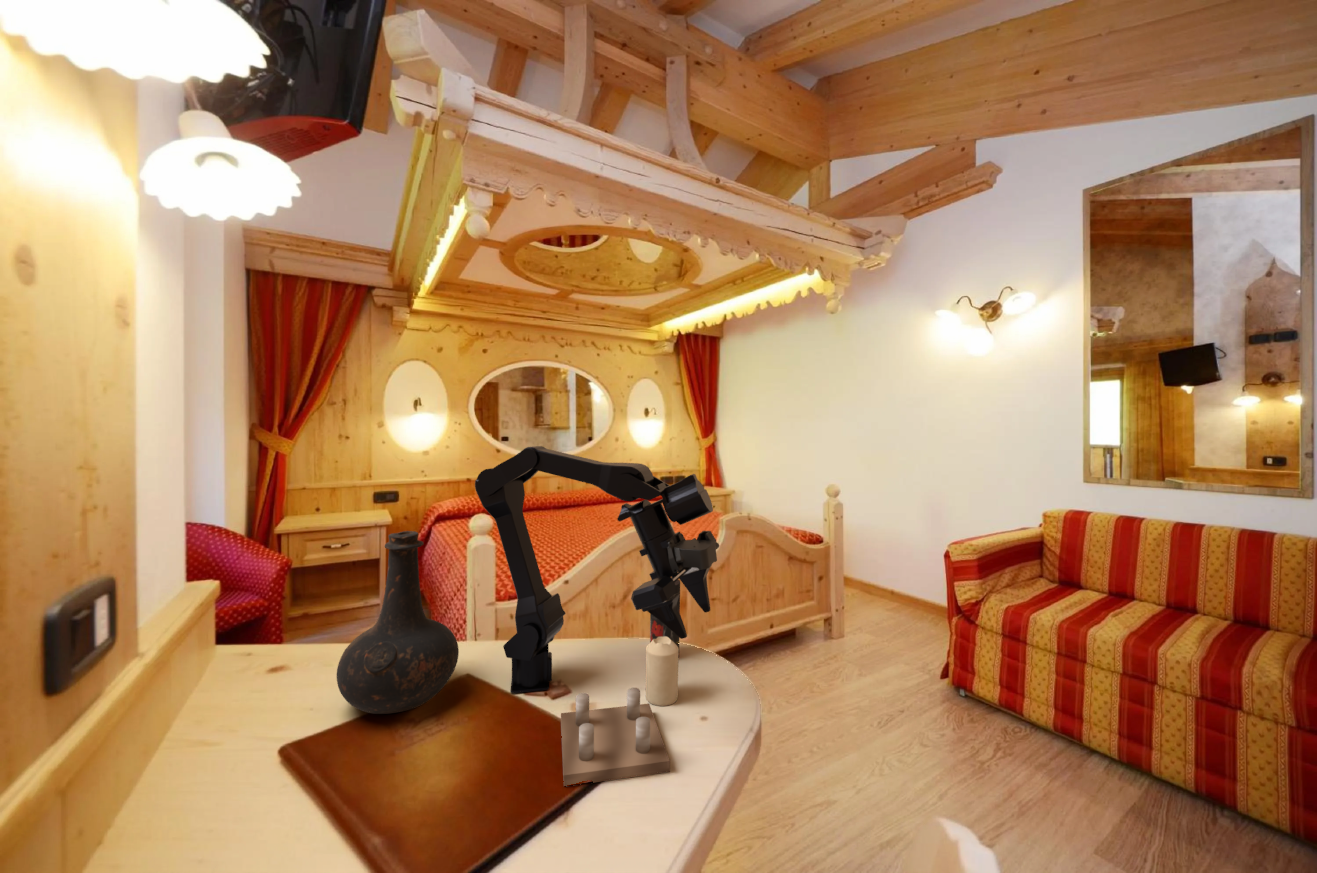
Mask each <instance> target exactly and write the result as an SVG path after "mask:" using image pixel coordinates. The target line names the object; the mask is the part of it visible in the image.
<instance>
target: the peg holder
mask: <svg viewBox="0 0 1317 873" xmlns="http://www.w3.org/2000/svg"><path fill="white" fill-rule="evenodd" d="M626 695H627V696H626V705H624V706H614V707H605V708H597V709H590V695H589V693H587V692H580V693H578V694H576V696H575V711H569V712H567V711H566V712H560V732H561V733H560V735H561V736H562V738H561V755H562V757H561V758H562V776H563V781H564V782H563V787H564V786H566V787H568V786H567V785H571V784H576V783H579V782H582V781H587V780H592V781H593V783H601V782H605V781H606V782H607V781H615V780H621V779H627V778H634V777H643V776H649V775H657V774H664V773H665V774H666V773H670V771H671V770H670V766H671V762H670V758H669V755H668V752H667V750H666V747H665V746H666V745H665V744H664V741H663V738H662V735H661V732H660V730H659V727H658V724H657V721H656V719H655V716H654V714H653V710H652V708H651V703H641V690H640V689H639V688H637V687H631V688H628V689H627V690H626ZM561 736H560V737H561ZM593 783H592V784H593Z"/></svg>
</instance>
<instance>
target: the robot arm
mask: <svg viewBox="0 0 1317 873" xmlns="http://www.w3.org/2000/svg"><path fill="white" fill-rule="evenodd" d="M538 472H542V473H545V474H550V475H553V476H557V477H562V478H564V479H565V478H566V479H570V480H573V481H578V482H582V483H586V484H589V485H592V486H594V487H596V488H599V489H600V490H602V491H603V492H605V493H606V494H608V495H609V496H612V497H613V498H617V499H618V500H621V501H624V502H625V503H623V504H622V505H621V508H620V512H619V514H618V516H617V518H616V519H617V522H622V521H625V520H627V519H629V518H630V520H631V523H632V524H633V527H634V529H635V531H636V533H637V536H638V538H639V541H640V543H641V545H642V547H643V548H641V549H640V550H638V552H639V554H640V556H641V557H643V556H647V558H648V561H649V563H650V566H651V568H652V570H653V571H652V572H650V573H649V576H650V579H651V580H648V581H646V582H643V583H642V584H640V585H639V586H638V587H637V588H635V589H634V590H633V591H632V593H631V597H630V600H631V601H632V604H633V606H634V608H635V610H636V611H639V610H642V613H645V612H647V613H649V615H650V614H652V615H653V616H654V617H656V618H657V619H658V620H660V621H661V622H662V623H663V624H665V625H666V626H667V627H668V628H669V629H670V630H671V631H673V632H674V633H675V634H676V635H677V636H678V637H679V639H682V640H684V639H686V638H687V637H688V633H687V630H686V626H685V624H684V621H683V618H682V616H681V613H680V612H681V611H680V612H679V610H678V607H677V601H678V598H679V594H680V595H681V592H680V593H677V594H675V593H676V585H675V582H676V581H677V580H680V583H682V585H683V586H684V587H685V588H686V590H687V591H688V593H689V594H690V595H691V597H692V598H693V600H694V601H695V602H696V604H697V605H698V606H699V608H700V609H701V610H702V611H703V612H704V614H705V613H708V612H709V613H710V612H711V604H710V596H709V589H708V578H707V576H708V573H709V571H710V570H711V569H710V568H711V567H712V565H713V564H714V563H716V562H717V561H718V557H717V556H718V555H717V549H719V548H720V544H719V543H718V542H717V539H716V538H715V536H714V534H713V532H712V531H711V530H702V531H701V532H700V533H698V536H697V538H696V537H694V538H692V539H686V538H685V536H684V534H683V533H682V532H681V531H678V532H675V530H674V528H673V526H672V523H677V524H678V525H680V526H683V525H684V524H687V523H690V522H691V521H695V520H697V519H699V518H701V517H703V516H705V515H709V514H710V513H713V511H714V510H713V509H714V508H713V502H712V500H711V497H710V494H709V493H708V491H707V489H705V487H704V485H703V484H702V483H701V481H700V480H699V479H698V477H697V475H696V473H692V474H689V475H687V476H686V477H684V478H683V479H681V480H680V481H678V482H675V483H673V484H668V483H666V482H665V481H663V480H661V479H659V478H658V477H656V476H654V475H653V472H652V471H651V469H650V467H649V466H647V465H645V464H643V463H637V462H605V461H599V460H595V459H592V458H587V457H582V456H579V455H574V454H569V453H566V452H562V451H557V450H553V449H548V448H547V447H544V446H542V445H534V446H527V447H525V448H523V449H522V450H521V451H519V452H518V453H517V454H515V455H514V456H511V457H510V458H508V459H507V460H505V461H503V462H501V463H499V464H498V465H496V466H494V467H493V468H492V467H491V468H486V469H483V470H481V472H480V473H478V476H477V477H476V479H475V480H474V489H475V492H476V494H477V497H478V499H479V501H480V502H481V505H482V507H483V508H484V509H485V511H487V513H488V514H489V515H490V516H491V517H492V518H493V519H494V521H495V524H496V527H497V531H498V534H499V538H500V542H501V545H502V547H503V552H504V556H505V558H506V563H507V565H508V566H507V567H508V570H509V572H510V576H511V579H512V584H513V587H514V590H515V594H516V597H517V598H516V599H517V600H516V608H515V614H514V622H515V627H516V628H515V629H516V633H515V634H514V635H513V636H512V637H511V638H510V639H509V640H508V641H506V643H504V645H503V647H502V648H503V649H504V653H505V657H506V658H508V659H511V683H510V689H509V690H510V691H509V692H510V694H519V693H529V692H530V693H531V692H538V691H539V692H540V691H548V690H549V689H550V682H551V681H552V680H553V679H552V678H553V677H552V676H553V675H552V674H553V673H552V672H553V670H552V669H553V654H552V652H551V651H550V650H549V649H550V648H549V644H550V643H551V642H553V641H554V639H555V636H556V635H557V634H558V633H559V632H560V631H561V630H562V627H563V626H564V621H565V620H564V616H566V611H565V609H564V608H563V606H562V601H561V596H560V594H559V593H555V594H553V595H552V594H551V593H550V591H549V590H547V589H546V587H545V585H544V582H543V578H542V574H541V572H540V569H539V568H540V566H539V565H538V564H539V563H538V561H537V557H536V553H535V551H534V547H533V544H532V540H531V537H530V533H529V530H528V526H527V522H526V519H525V516H524V510H523V508H524V503H525V495H526V491H525V485H524V484H525V483H526V482H528V481H529V480H531V479H532V478H533V477H534V476H535V475H536V474H537V473H538ZM659 497H661V499H659V500H657V501H654V502H652V503H651V500H653V499H656V498H659ZM639 499H641V501H639V502H636V503H634V504H629V503H626V502H633V501H636V500H639ZM671 522H672V523H671ZM671 577H672V578H671ZM656 578H657V579H656ZM653 579H654V580H653Z"/></svg>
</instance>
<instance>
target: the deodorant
mask: <svg viewBox="0 0 1317 873" xmlns="http://www.w3.org/2000/svg"><path fill="white" fill-rule="evenodd" d="M671 578H672V577H671ZM656 579H657V578H656ZM653 580H654V579H653ZM675 585H676V593H675V594H677V593H680V594H679V598H678V601H677V607H678V610H679V612H681V580H680V579H678V580H677V581H676V582H675ZM649 615H650V618H649V619H650V621H649V643H650V642H651V641H652V640H653V639H657V638H658V637H668V638H669V639H670V640H671V641H673V642H674V643H675V644H676V645H677V646H678V649H679V650H678V655H679V656H680V638H679V637H678V636H677V635H676V634H675V633H674V632H673V631H671V630H670V629H669V628H668V627H667V626H666V625H665V624H663V623H662V622H661V621H660V620H658V619H657V618H656V617H654V616H653V615H652V614H650V613H649ZM678 643H679V644H678Z"/></svg>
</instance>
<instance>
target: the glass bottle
mask: <svg viewBox="0 0 1317 873" xmlns="http://www.w3.org/2000/svg"><path fill="white" fill-rule="evenodd" d="M424 545H425V544H424V541H422V540H419V532H417V531H413V530H403V531H399V532H395V533H394V532H393V533H390V534H388V542H386V543H385V544H384V548H385V549H387V550H388V557H387V558H388V561H387V575H386V581H385V589H384V590H385V591H384V595H383V602H382V605H381V608H380V609H381V610H380V613H379V615H378V619H377V621H376V623H375V624H374V625H373V626H372V627H370V628H369V629H367V630H365V631H364V632H362V633H360V634H359V635H358V636H356V637H355V638H354V639H353V640H352V641H351V642H350V643H349V644H348V645H347V646H346V648H345V649H344V651H343V653H342V655H341V656H340V659H339V662H338V664H337V668H336V683H337V687H338V690H339V692H340V694H341V696H342V697H343V699H344V700H345V701H346V702H347V703H348V704H349V705H351V706H352V707H353V708H355V709H356V710H360V711H362V712H365V713H368V714H374V715H375V714H376V715H385V714H398V713H401V712H406V711H410V710H412V709H413V710H414V709H415V708H417V707H419V706H422V705H424V704H426V703H427V702H428V701H430V700H431V699H433V698H434V697H436V696H437V694H439V692H441V690H443V688H444V687H445V686H446V684H447V683H448V681H449V680H450V678H451V677H452V676H453V673H454V671H455V669H456V667H457V664H458V660H459V653H460V651H459V644H458V640H457V638H456V636H455V635H454V633H453V632H452V630H451V629H450V628H449V627H447V625H445V624H443V623H442V622H439V621H437V620H435V619H431V618H428V617H427V616H426V614H425V611H424V608H423V604H422V595H421V585H420V572H419V568H420V567H419V548H420V547H422V546H424Z"/></svg>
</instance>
